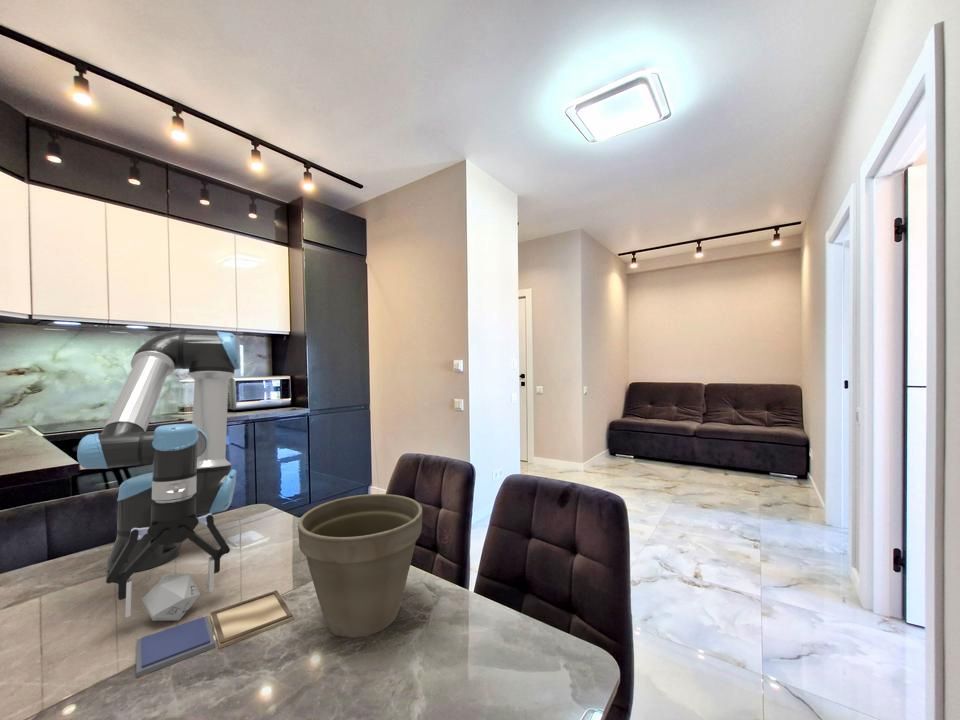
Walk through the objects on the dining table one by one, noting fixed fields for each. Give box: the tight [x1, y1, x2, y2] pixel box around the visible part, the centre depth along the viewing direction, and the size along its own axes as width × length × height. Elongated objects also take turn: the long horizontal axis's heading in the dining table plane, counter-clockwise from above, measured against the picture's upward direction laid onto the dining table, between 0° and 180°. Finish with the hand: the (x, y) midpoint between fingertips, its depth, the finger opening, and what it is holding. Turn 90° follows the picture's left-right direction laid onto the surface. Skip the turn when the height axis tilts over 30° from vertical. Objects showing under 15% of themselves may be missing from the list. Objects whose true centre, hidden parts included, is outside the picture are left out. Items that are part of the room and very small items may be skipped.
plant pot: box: [297, 493, 423, 639], centre depth 82 cm, size 25×25×22 cm
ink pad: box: [135, 615, 216, 678], centre depth 73 cm, size 11×11×1 cm
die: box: [141, 573, 201, 622], centre depth 82 cm, size 8×9×10 cm
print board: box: [209, 590, 295, 650], centre depth 81 cm, size 13×13×1 cm
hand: (171, 600), depth 82 cm, fingers open, 13 cm apart
